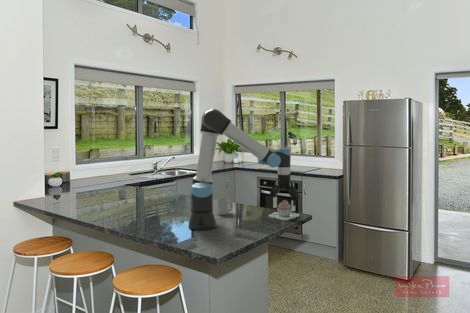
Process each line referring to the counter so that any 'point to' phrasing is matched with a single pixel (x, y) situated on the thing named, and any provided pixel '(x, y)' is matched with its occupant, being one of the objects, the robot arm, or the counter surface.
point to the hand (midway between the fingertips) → (284, 209)
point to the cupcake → (284, 209)
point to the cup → (223, 206)
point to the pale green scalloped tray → (276, 216)
